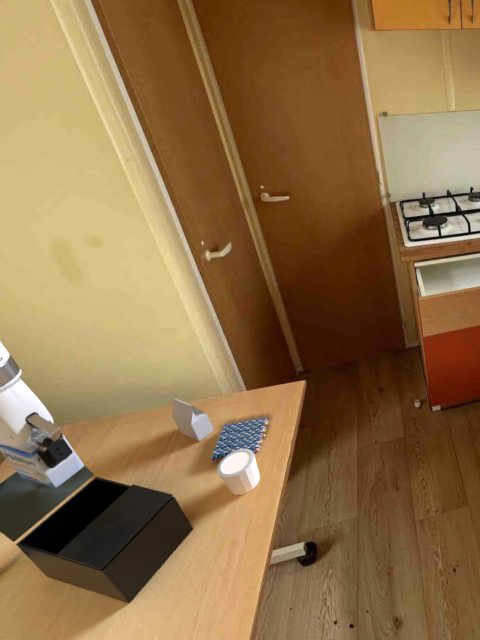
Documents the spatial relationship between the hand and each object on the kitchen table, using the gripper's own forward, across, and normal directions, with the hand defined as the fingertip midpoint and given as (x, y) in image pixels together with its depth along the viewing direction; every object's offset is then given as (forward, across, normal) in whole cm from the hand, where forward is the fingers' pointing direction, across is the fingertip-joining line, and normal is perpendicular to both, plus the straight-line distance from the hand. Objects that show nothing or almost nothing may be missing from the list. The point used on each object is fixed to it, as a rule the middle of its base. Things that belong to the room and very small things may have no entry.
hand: (40, 455), depth 70 cm
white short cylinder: (+25, +17, +16) cm, 35 cm away
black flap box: (+25, +5, -1) cm, 26 cm away
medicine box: (+5, 0, 0) cm, 5 cm away
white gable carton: (+25, -4, +25) cm, 36 cm away
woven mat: (+25, +8, +25) cm, 36 cm away
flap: (+10, -6, -1) cm, 11 cm away
